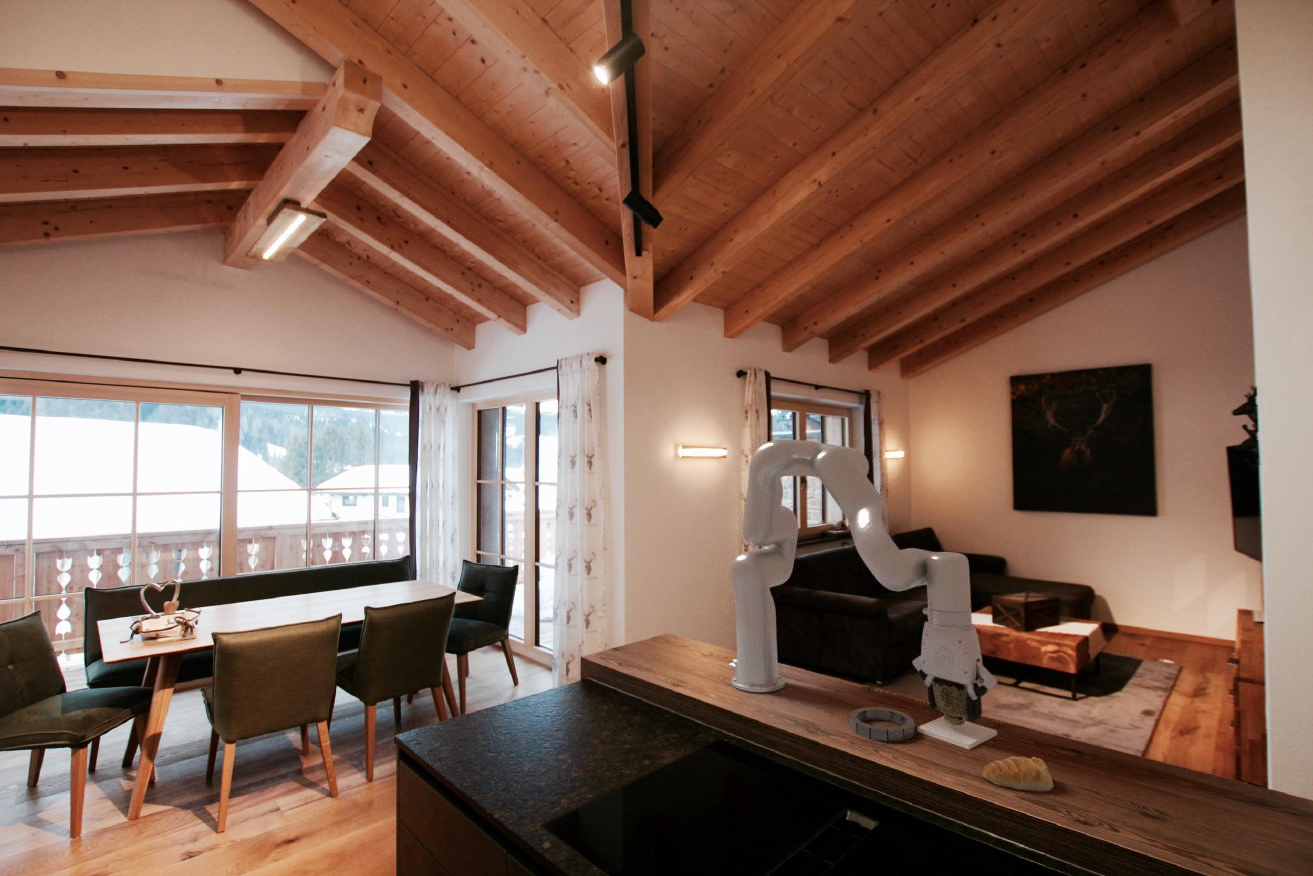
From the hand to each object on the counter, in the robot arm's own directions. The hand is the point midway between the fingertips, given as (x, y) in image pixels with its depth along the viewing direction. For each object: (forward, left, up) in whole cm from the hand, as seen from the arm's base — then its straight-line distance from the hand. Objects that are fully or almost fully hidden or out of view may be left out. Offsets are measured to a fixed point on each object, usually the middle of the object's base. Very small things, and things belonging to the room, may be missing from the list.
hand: (954, 712), depth 118 cm
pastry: (+16, -10, -4) cm, 20 cm away
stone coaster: (0, 0, -4) cm, 4 cm away
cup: (0, 0, -2) cm, 2 cm away
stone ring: (-10, -9, -4) cm, 14 cm away
